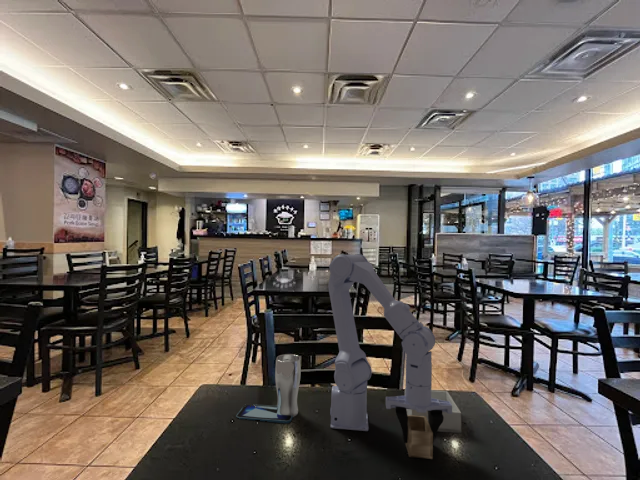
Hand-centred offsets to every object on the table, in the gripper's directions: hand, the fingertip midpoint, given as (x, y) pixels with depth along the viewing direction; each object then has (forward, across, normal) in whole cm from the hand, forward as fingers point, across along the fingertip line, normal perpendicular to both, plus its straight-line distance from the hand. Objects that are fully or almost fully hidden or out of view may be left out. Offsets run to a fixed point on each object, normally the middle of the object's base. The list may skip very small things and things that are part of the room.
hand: (417, 441), depth 72 cm
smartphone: (+2, -38, +10) cm, 40 cm away
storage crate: (+2, +6, +14) cm, 15 cm away
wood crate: (+1, 0, 0) cm, 1 cm away
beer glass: (+2, -33, +11) cm, 35 cm away
